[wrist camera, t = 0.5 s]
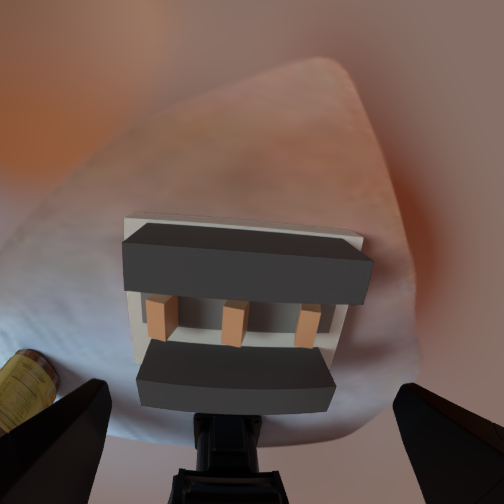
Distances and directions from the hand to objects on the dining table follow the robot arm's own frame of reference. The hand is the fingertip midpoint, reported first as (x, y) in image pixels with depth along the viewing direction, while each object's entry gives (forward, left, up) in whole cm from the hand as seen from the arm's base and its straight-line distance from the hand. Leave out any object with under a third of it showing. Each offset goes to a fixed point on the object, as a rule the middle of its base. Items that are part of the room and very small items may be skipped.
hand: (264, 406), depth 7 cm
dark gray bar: (+1, 0, -11) cm, 11 cm away
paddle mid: (-3, 0, -11) cm, 11 cm away
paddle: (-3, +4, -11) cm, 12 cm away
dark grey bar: (-7, 0, -11) cm, 13 cm away
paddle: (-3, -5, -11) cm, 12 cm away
